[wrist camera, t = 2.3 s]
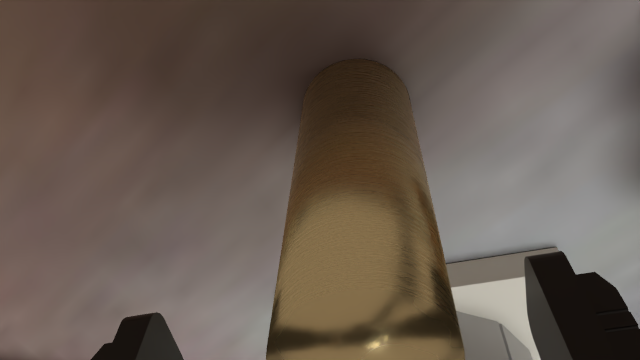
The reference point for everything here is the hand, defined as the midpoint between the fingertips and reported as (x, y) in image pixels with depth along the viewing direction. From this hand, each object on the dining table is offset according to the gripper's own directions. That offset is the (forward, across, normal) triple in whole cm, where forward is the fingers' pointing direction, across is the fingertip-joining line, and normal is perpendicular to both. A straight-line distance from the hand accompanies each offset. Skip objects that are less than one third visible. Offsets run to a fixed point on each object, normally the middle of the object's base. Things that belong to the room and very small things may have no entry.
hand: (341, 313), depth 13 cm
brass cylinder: (+11, -1, 0) cm, 11 cm away
